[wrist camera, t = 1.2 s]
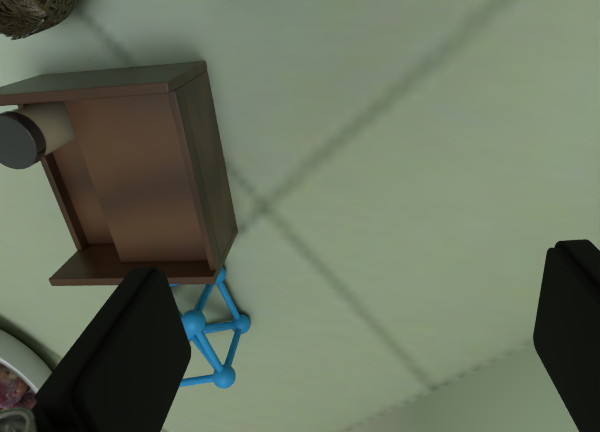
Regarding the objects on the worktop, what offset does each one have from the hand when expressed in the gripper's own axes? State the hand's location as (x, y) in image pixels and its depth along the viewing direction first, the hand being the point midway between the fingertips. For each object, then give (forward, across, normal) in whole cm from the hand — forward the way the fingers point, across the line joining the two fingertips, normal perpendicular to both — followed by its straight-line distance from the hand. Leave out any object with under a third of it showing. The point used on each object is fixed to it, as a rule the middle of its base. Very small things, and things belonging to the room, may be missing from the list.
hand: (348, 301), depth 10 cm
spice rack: (+30, +20, +5) cm, 37 cm away
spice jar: (+27, +25, 0) cm, 37 cm away
